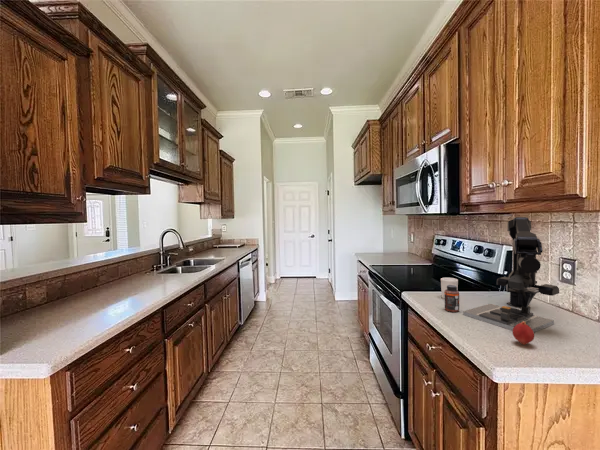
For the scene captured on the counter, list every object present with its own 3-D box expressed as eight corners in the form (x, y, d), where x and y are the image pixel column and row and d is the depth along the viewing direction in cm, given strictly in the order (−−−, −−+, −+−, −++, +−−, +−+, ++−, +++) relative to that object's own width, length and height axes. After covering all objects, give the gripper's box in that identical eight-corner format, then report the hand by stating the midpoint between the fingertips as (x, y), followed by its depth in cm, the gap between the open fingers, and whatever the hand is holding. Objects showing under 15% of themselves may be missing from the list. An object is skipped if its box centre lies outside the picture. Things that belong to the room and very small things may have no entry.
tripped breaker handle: (504, 312, 120) (504, 305, 119) (510, 313, 117) (510, 307, 117) (501, 312, 119) (501, 306, 119) (508, 314, 117) (508, 308, 117)
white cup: (442, 295, 153) (442, 276, 153) (458, 297, 149) (458, 278, 148) (439, 299, 147) (439, 279, 146) (456, 301, 142) (456, 281, 142)
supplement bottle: (461, 312, 127) (461, 287, 126) (446, 312, 128) (446, 287, 127) (456, 308, 133) (456, 284, 132) (442, 307, 134) (442, 284, 133)
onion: (508, 341, 99) (508, 318, 99) (523, 339, 99) (523, 317, 99) (522, 349, 93) (522, 324, 93) (538, 347, 94) (539, 323, 93)
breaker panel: (490, 306, 133) (490, 296, 133) (554, 324, 112) (554, 311, 112) (463, 314, 124) (463, 303, 124) (526, 335, 103) (527, 321, 103)
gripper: (488, 266, 116) (488, 304, 116) (544, 274, 99) (544, 318, 100) (504, 263, 121) (504, 299, 121) (560, 270, 104) (559, 312, 105)
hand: (525, 307), depth 112 cm, fingers closed
